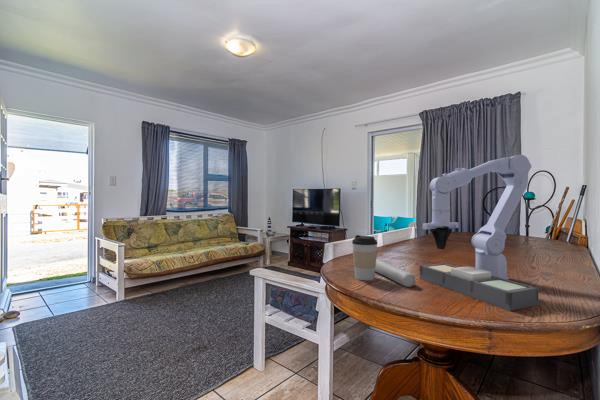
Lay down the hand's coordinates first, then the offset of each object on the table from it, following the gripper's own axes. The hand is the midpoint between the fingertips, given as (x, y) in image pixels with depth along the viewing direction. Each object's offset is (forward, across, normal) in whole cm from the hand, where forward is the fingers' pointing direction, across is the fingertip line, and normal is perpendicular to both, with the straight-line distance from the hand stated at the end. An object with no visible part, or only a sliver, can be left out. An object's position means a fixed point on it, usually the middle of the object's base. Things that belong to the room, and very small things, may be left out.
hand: (440, 248), depth 102 cm
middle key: (+7, +2, +13) cm, 15 cm away
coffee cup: (+11, +25, -10) cm, 29 cm away
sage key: (+8, +2, +23) cm, 25 cm away
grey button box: (+10, +2, +14) cm, 17 cm away
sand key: (+8, +2, +3) cm, 9 cm away
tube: (+11, +16, -7) cm, 21 cm away
